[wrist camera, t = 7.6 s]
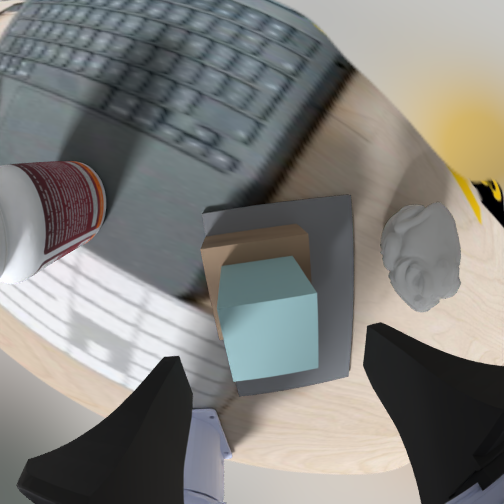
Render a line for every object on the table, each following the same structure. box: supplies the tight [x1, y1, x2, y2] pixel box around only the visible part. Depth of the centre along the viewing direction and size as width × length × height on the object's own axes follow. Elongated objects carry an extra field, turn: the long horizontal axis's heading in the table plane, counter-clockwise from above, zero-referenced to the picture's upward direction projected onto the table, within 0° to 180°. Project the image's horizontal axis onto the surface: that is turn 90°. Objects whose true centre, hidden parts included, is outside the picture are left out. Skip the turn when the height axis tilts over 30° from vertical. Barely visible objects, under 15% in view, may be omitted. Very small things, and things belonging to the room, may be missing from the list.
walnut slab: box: [201, 224, 312, 340], centre depth 18 cm, size 6×6×3 cm
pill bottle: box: [0, 161, 106, 284], centre depth 12 cm, size 6×6×11 cm
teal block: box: [217, 256, 318, 382], centre depth 14 cm, size 4×4×5 cm
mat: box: [202, 195, 354, 397], centre depth 20 cm, size 16×10×1 cm, turn 7°
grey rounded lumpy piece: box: [380, 202, 461, 312], centre depth 16 cm, size 6×7×7 cm
